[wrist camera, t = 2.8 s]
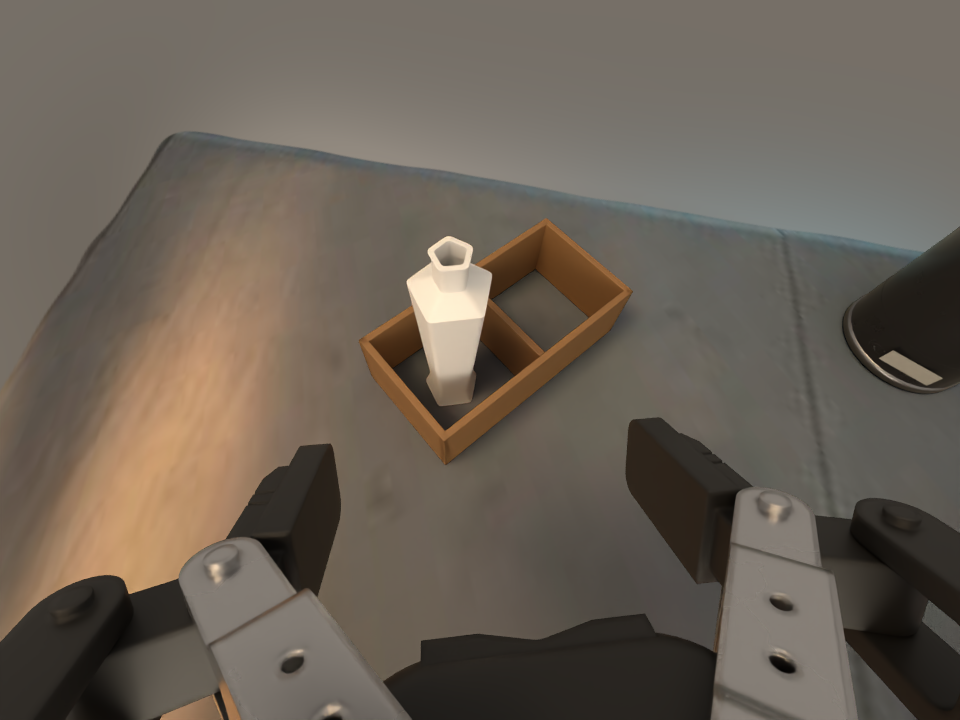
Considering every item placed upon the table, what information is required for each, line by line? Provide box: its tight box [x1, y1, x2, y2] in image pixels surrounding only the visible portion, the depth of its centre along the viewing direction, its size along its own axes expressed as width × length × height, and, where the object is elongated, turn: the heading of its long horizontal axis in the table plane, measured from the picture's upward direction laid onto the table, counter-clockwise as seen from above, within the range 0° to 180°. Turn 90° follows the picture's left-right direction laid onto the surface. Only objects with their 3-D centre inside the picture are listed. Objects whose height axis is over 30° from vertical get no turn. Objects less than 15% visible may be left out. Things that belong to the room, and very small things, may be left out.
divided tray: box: [359, 218, 633, 465], centre depth 34 cm, size 18×9×6 cm, turn 131°
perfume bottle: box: [407, 236, 492, 406], centre depth 28 cm, size 5×4×15 cm
